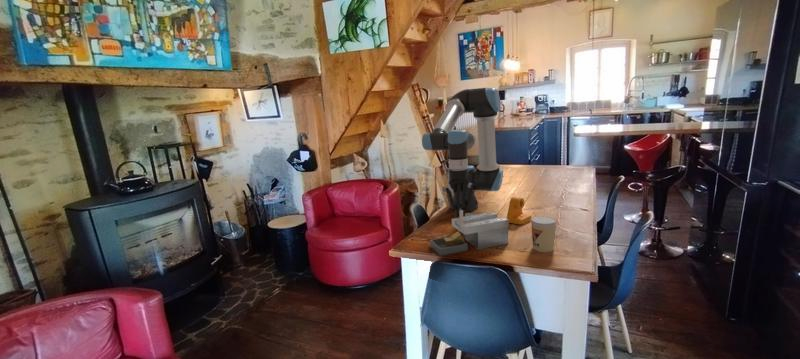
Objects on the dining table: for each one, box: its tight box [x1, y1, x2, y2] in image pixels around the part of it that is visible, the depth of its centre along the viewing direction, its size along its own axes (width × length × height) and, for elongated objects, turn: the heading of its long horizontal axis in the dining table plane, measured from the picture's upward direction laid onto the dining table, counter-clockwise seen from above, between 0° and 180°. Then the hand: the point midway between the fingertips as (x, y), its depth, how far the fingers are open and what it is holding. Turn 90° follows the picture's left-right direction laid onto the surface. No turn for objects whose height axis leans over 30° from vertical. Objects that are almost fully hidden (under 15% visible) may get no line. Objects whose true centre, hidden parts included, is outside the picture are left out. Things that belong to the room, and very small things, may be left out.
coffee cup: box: [530, 215, 557, 253], centre depth 149 cm, size 9×9×12 cm
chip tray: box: [429, 235, 469, 257], centre depth 156 cm, size 11×12×3 cm
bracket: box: [506, 196, 532, 226], centre depth 181 cm, size 11×7×12 cm, turn 132°
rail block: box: [451, 211, 509, 250], centre depth 159 cm, size 12×20×10 cm, turn 107°
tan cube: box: [450, 230, 466, 245], centre depth 155 cm, size 4×4×4 cm
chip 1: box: [444, 236, 454, 248], centre depth 156 cm, size 4×4×4 cm
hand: (460, 224), depth 156 cm, fingers closed
